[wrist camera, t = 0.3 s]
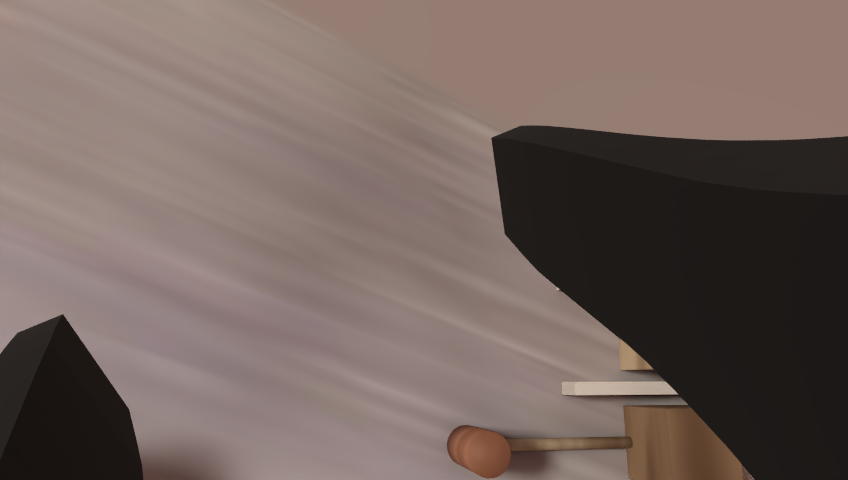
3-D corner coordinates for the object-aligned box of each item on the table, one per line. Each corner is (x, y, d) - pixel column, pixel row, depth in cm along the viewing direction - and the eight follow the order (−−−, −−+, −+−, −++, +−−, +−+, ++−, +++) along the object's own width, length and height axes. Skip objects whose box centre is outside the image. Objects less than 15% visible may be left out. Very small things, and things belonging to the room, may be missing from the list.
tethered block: (685, 404, 41) (735, 408, 36) (691, 475, 40) (744, 488, 35) (446, 407, 38) (467, 411, 33) (447, 484, 37) (469, 500, 32)
